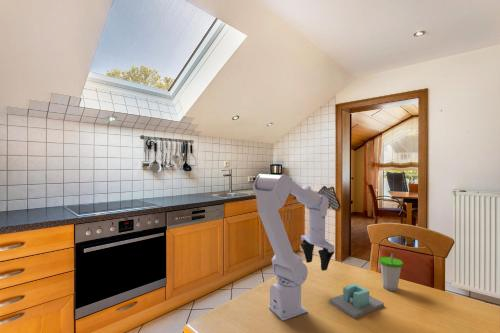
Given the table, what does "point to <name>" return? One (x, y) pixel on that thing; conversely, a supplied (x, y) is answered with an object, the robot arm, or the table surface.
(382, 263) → the cup
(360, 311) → the post board
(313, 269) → the table surface
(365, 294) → the teal slotted block
